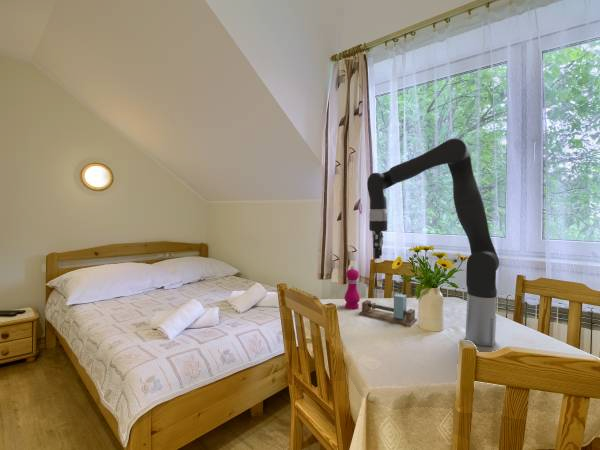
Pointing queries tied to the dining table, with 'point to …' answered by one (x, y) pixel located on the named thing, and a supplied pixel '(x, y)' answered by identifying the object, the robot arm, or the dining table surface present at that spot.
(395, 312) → the sleeve
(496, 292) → the robot arm
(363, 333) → the dining table surface
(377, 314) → the rail
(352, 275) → the pepper mill
